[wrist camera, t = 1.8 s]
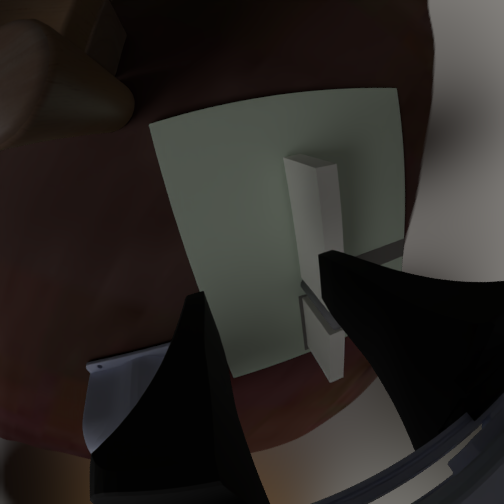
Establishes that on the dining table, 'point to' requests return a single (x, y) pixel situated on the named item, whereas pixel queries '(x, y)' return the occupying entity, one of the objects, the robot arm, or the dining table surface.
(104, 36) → the wooden toy
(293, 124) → the board
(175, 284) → the dining table surface
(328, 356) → the base
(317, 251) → the fence panel
